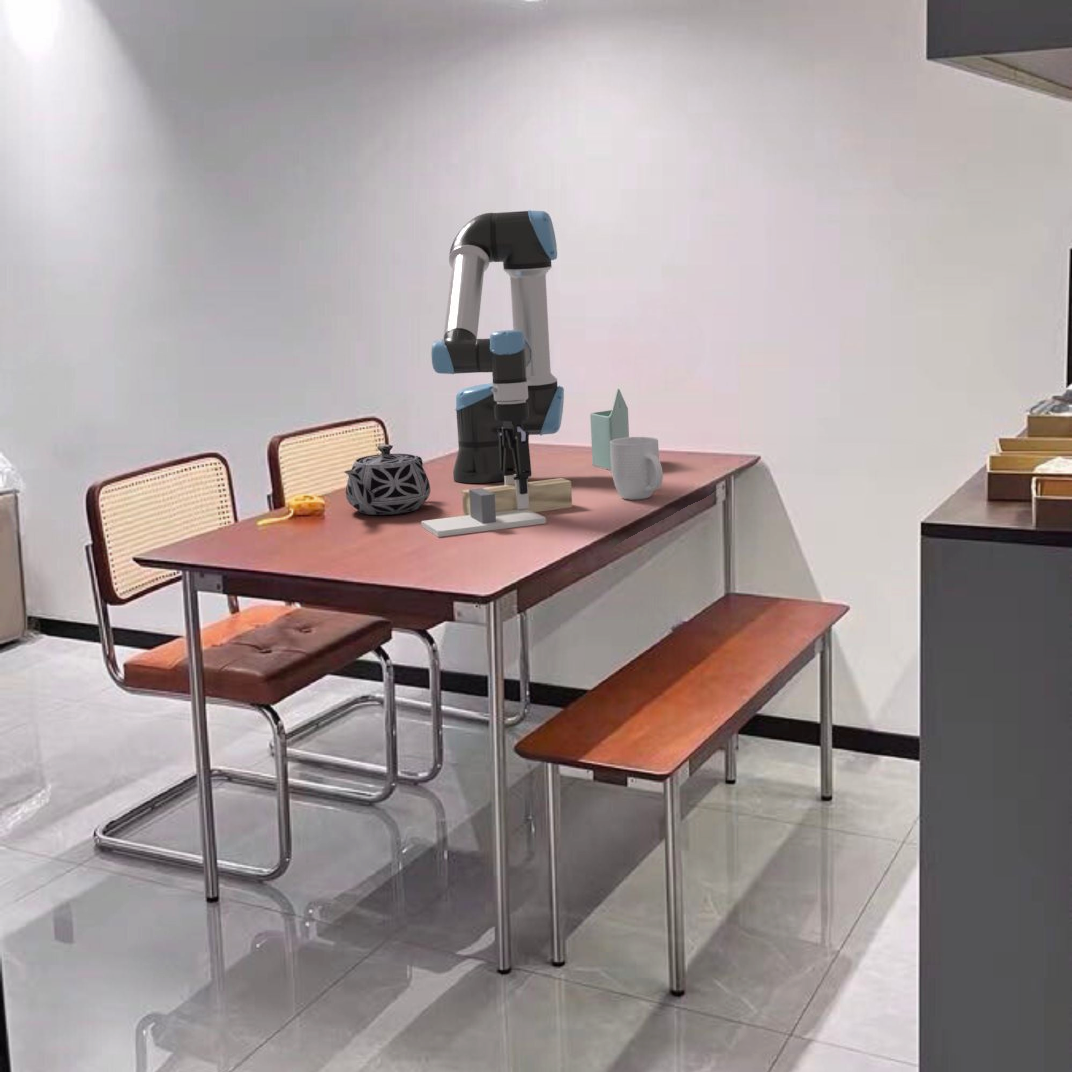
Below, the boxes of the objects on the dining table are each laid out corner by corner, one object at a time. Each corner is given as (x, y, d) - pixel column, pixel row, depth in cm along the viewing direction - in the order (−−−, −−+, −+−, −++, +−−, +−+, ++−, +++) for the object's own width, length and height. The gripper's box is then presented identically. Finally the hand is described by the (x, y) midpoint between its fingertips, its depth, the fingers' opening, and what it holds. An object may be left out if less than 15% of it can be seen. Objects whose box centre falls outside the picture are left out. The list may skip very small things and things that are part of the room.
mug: (680, 499, 331) (679, 441, 329) (641, 506, 326) (639, 448, 323) (640, 490, 344) (638, 435, 341) (602, 497, 338) (599, 441, 335)
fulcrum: (421, 526, 316) (419, 493, 314) (526, 513, 324) (524, 481, 322) (438, 537, 305) (435, 502, 303) (546, 523, 313) (544, 490, 311)
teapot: (313, 523, 326) (307, 456, 322) (388, 496, 352) (383, 434, 349) (385, 527, 317) (380, 458, 314) (457, 499, 344) (453, 436, 340)
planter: (601, 459, 388) (598, 384, 384) (630, 459, 385) (627, 384, 381) (583, 470, 373) (580, 393, 369) (613, 471, 370) (610, 392, 366)
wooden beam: (463, 517, 324) (461, 490, 323) (563, 504, 333) (561, 478, 332) (471, 521, 320) (469, 494, 319) (572, 507, 329) (571, 481, 328)
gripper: (480, 400, 329) (487, 502, 333) (509, 406, 311) (516, 514, 315) (512, 397, 332) (518, 499, 336) (542, 403, 314) (549, 510, 318)
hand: (517, 506), depth 326 cm, fingers open, 6 cm apart
